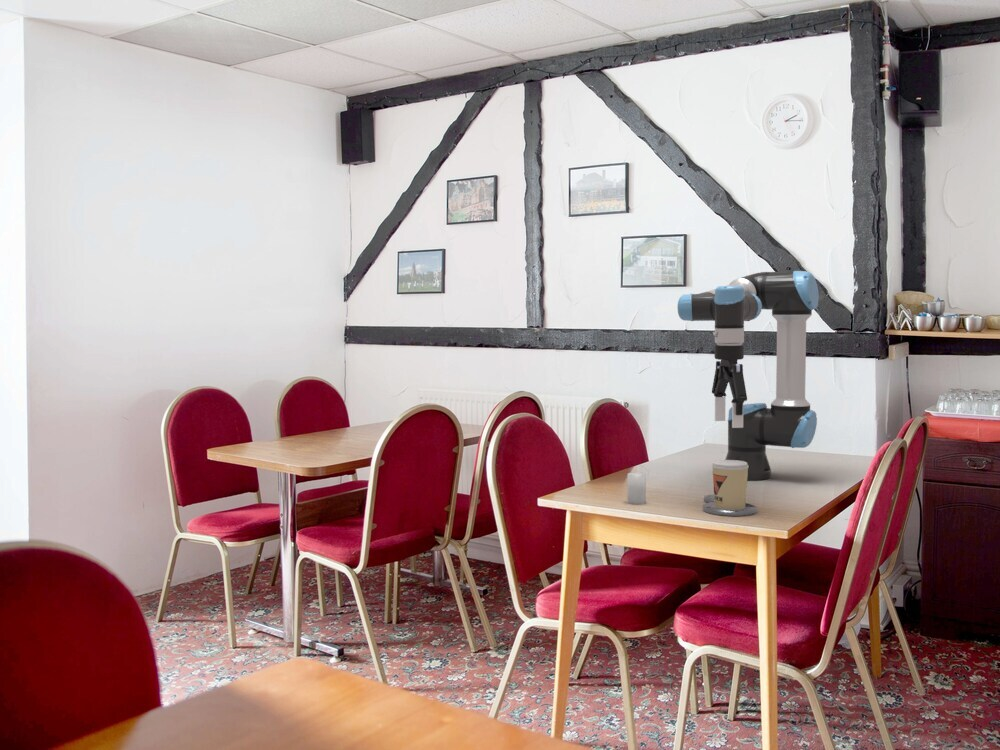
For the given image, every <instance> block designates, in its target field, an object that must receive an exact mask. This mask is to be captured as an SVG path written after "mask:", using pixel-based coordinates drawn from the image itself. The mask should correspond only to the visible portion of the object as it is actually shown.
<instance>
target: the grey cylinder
mask: <svg viewBox="0 0 1000 750" xmlns="http://www.w3.org/2000/svg"><path fill="white" fill-rule="evenodd" d="M646 491H647V474H646V473H644V472H639V471H638V472H629V473H627V503H628V504H630V505H645V504H646V502H647V501H646V499H647V494H646V493H647V492H646Z"/></svg>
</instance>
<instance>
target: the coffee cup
mask: <svg viewBox="0 0 1000 750" xmlns="http://www.w3.org/2000/svg"><path fill="white" fill-rule="evenodd" d="M748 467H749V466H748V465H747V462H744V461H739V460H725V459H719V460H714V461H713V462H712V464H711V468H712V480H713V493H714V494H713V495H714V498H715V507H716V508H717V509H721V510H731V511H735V510H743V509H745V503H746V502H747V488H748V480H747V476H748Z"/></svg>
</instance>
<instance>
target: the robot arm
mask: <svg viewBox="0 0 1000 750" xmlns="http://www.w3.org/2000/svg"><path fill="white" fill-rule="evenodd" d="M819 293H820V292H819V287H818V283H817V280H816V278H815V276H814V275H813V274H812V273H811V272H810V271H807V270H805V271H803V270H792V271H791V270H788V271H785V270H784V271H761V272H757V273H756V272H755V273H752V274H748V275H746V276H742V277H738V278H736V279H734V280H732V281H731V282H730V283H729V284H726V285H721V286H717V287H716V288H714V289H711V290H707V291H705V292H699V293H689V294H687V293H686V294H682V295H680V297H679V298H678V301H677V315H678V316H679V318H680V319H681V320H682V321H690V322H696V321H697V322H703V321H704V322H705V321H707V322H708V321H709V322H713V321H714V331H713V332H712V334H713V337H714V343H715V344H716V345H715V346H714V358H715V359H716V361H715V371H714V377H713V382H712V388H711V393H712V394H713V396H714V422H725V421H726V397H727V394H726V390H727V387H728V384H729V388H730V392H731V395H732V399H731V404H732V405H731V407H730V408H729V409H728V418H727V453H726V456H725V459H724V460H739V461H744V462H747V465H748V466H749V467H748V476H747V481H761V480H768V479H771V478H772V469H771V465H770V462H769V459H768V456H767V453H766V450H767V449H766V448H767V447H766V446H772V447H773V446H774V447H783V448H784V447H787V448H792V449H795V448H801V449H802V448H803V449H804V448H806V447H808V446H810V444H811V443H812V442H813V440H814V437H815V434H816V432H817V431H816V429H817V424H818V417H817V413H816V412H815V411H814V410H812V409H811V403H810V402H809V401H808V400H807V399H806V368H807V367H806V366H807V365H806V363H807V362H806V358H807V356H806V355H807V321H808V320H809V319H810V318H811V316H812V311H813V310H816V309H817V308H818V306H819V300H820V295H819ZM763 310H771V317H773V319H775V320H776V377H775V379H776V382H775V386H776V387H775V390H776V391H775V394H776V395H775V399H773V401H772V402H771V403H770V407H768V406H767V404H766V403H764V402H758V403H757V402H755V403H747V404H744V403H745V402H746V401H748V395H747V389H746V382H745V378H744V369H743V367H744V365H743V364H742V363H738V361H739V360H744V357H745V356H744V355H745V351H744V350H745V346H744V345H743V343H745V322H750V321H752V320H755V319H757V318H758V317H759V316H760V315H761V312H762V311H763Z"/></svg>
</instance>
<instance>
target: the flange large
mask: <svg viewBox="0 0 1000 750" xmlns="http://www.w3.org/2000/svg"><path fill="white" fill-rule="evenodd" d="M702 511H703V512H704V513H707V514H710V515H713V516H721V517H746V516H747V517H748V516H752V515H755V514H757V512H758V508H757V506H756V505H754V504H751V503H745V509H743V510H735V511H731V510H721V509H717V508H716V507H715V502H709V503H707V502H704V504H702Z"/></svg>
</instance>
